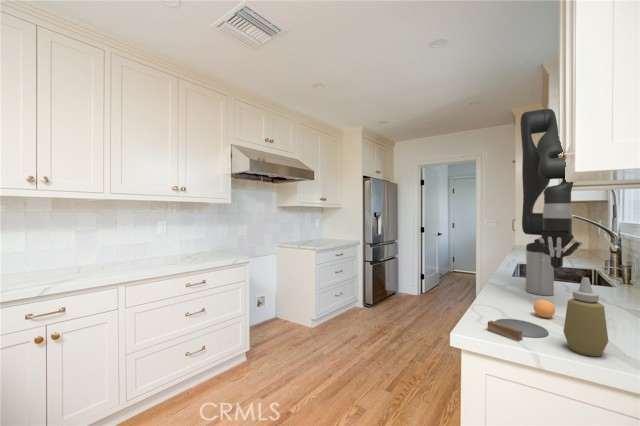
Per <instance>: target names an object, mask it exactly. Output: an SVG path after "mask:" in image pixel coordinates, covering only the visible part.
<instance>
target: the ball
mask: <svg viewBox="0 0 640 426" xmlns="http://www.w3.org/2000/svg"><path fill="white" fill-rule="evenodd" d="M533 310H534V312H535V313H536V315H537V316H539V317H541V318H544V319H545V318H546V319H547V318H551V317H554V315H555V313H556V308H555V306H554V304H553V303H552V302H550V301H549V300H545V299H539V300H536V301H535V302H534V303H533Z"/></svg>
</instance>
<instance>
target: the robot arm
mask: <svg viewBox="0 0 640 426" xmlns="http://www.w3.org/2000/svg"><path fill="white" fill-rule="evenodd" d="M543 133H544V134H543ZM533 134H543V135H542V136H541V137H540V138H539V140H538V141H537V144H536V145H535V143H534V142H535V141H534V140H533V137H532V136H533ZM558 134H559V127H558V122H557V117H556V113H555V111H554V110H553V109H551V108H543V109H536V110H531V111H525V112H523V113H522V114H521V117H520V135H521V137H520V138H521V149H522V165H521V167H522V169H521V171H522V172H521V173H522V175H521V176H522V193H523V195H522V197H523V198H522V200H523V202H522V217H521V226H522V227H521V228H522V232H523V234H525V235H529V236H530V235H531V236H540V237H538V238H535V239H534V241H533V242H530V243H527V244H526V247H525V248H526V249H525V253H526V254H525V257H526V258H525V291H526V292H527V293H530V294H534V295H537V296H538V295H539V296H554V294H555V289H554V287H555V269H557V270H558V269H559V270H560V269H561V268H562V267H563V266H564V257H569V256H571V255H572V254H573V253H574V252H576V250H578V248H580V247H581V246H582V245H583V244H582V242H581V241H578V240H576V239H575V238H574V235H573V233H572V232H573V229H572V228H573V227H572V225H573V224H572V223H573V218H572V217H573V211H572V210H573V209H572V189H573V185H574V182H570V183H569V182H566V180H565V167H566V162H565V159H563V158H558V154H560V153H562V152H563V149H564V148H563V149H562V146H563V145H562V146H561V144H562V143H561V140H559V139H560V136H558ZM555 179H556V180H562V181H561V182H560V183H559V184H557V185H550V186H548V185H549V183H550V181H551V180H555ZM542 193H543V208H542V209H543V210H542V212H534V207H535V205H536V203H537V200H538V199H539V197H540V196H541V195H542ZM569 244H570V247H568V248H567V250H566V247H567V246H568V245H569Z"/></svg>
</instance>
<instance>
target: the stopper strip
mask: <svg viewBox="0 0 640 426" xmlns="http://www.w3.org/2000/svg"><path fill="white" fill-rule="evenodd" d="M495 321H496V320H488V321H487V331H488V332H489V333H490V332H491V333H493V334H496V335H499V336H502V337H505V338H508V339H510V340H514V341H515V342H520V341H523V330H520V329H517V328H514V327H511V326H507V325H504V324H501V323H498V322H495Z"/></svg>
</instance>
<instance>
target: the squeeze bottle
mask: <svg viewBox="0 0 640 426" xmlns="http://www.w3.org/2000/svg"><path fill="white" fill-rule="evenodd" d="M599 297H600V295H599V293H596V292H594V290H593V287H592V284H591V281H590V277H585V276H583V277H581V281H580V283H579V287H578V289H577V290H576V289H575V290H572V297H571V298H570V299H568V300H567V303H566V310H565V311H566V312H565V318H564V325H563V334H564V335H563V336H564V337H565V340H566V343H567V346H568V347H569V349H570V350H572V351H574V352H576V353H579V354H582V355H585V356H589V357H590V356H591V357H602V355H603V353H604V352H605V349H606V347H607V345H608V343H609V336H608V335H609V334H608V327H607V320H606V319H607V317H606V311H605V306H604V305H603V304H602V303H601V302H599V301H600V298H599Z"/></svg>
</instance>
